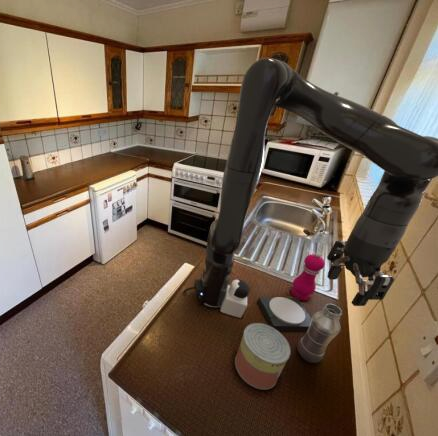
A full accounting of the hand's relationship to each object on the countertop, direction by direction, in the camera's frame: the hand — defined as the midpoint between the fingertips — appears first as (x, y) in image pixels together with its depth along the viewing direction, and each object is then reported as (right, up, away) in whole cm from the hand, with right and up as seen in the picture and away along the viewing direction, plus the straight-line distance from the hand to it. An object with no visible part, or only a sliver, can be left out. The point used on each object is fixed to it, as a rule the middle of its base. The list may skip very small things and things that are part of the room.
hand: (343, 290), depth 58 cm
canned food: (-17, -25, +9) cm, 32 cm away
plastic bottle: (0, -23, +13) cm, 27 cm away
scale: (0, -16, +25) cm, 30 cm away
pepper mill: (+11, -12, +34) cm, 37 cm away
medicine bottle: (-18, -15, +28) cm, 37 cm away
